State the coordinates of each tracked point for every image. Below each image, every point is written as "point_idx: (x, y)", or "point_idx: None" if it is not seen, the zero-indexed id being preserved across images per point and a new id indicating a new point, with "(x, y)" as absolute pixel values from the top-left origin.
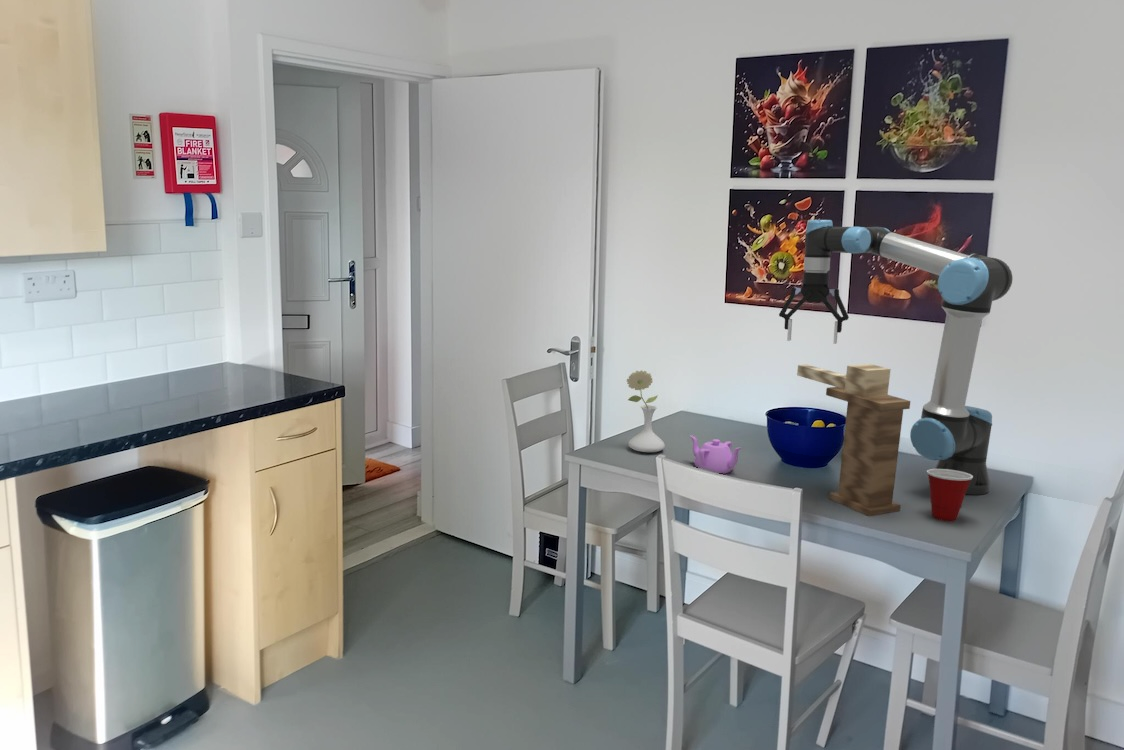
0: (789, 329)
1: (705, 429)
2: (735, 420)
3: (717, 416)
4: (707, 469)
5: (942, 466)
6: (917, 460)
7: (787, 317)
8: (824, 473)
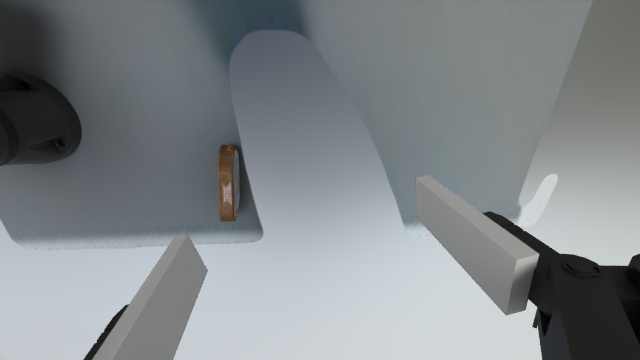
0: (461, 208)
1: (466, 149)
2: None
3: None
4: None
5: (8, 92)
6: (155, 210)
7: (570, 265)
8: (220, 27)
